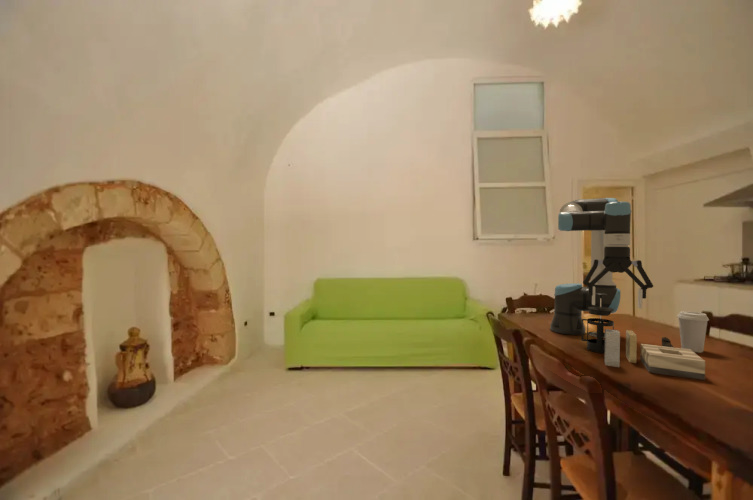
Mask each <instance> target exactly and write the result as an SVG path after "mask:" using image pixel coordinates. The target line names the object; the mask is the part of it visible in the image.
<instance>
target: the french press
mask: <svg viewBox="0 0 753 500" xmlns="http://www.w3.org/2000/svg"><path fill="white" fill-rule="evenodd" d="M595 294H596V295H599V298H600V307H597V306H596V307H588V309H589V312H588V313H589V314H590V315H595V316H599V318H598V317H590V318H582V335H581V341H583V342H586V350H587V351H591V352H594V353H597V354H604V355H605V327H612V330H615V329H614V328H615V326H614V325H615V321H613V320H612V319H606V318H602V316H603V317H604V316H605V317H607V316H610V315H611V314H612V313H611V312H612V311H614V309H611V308H606V307H601V298H602V295H607V294H604V293H595ZM584 321H585V322H586V321H587V322H586V323H587V328H586V331H587V332H586V333H587V334H586V335H587V336H586V339H585V338H584V334H583V323H584ZM589 325H593V326H596V331H589ZM589 336H591V337H594V338H589Z"/></svg>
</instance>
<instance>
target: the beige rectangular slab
mask: <svg viewBox="0 0 753 500" xmlns="http://www.w3.org/2000/svg"><path fill="white" fill-rule="evenodd" d="M637 336H638V335H637V334H636V333H635V332H634V331H633V330H628V329H626V330H625V357H626V359H627V360H628V362H629V363H631V364H637V347H638V346H637V344H638V342H637V341H638V340H637V338H638V337H637Z"/></svg>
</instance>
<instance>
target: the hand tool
mask: <svg viewBox="0 0 753 500" xmlns="http://www.w3.org/2000/svg"><path fill="white" fill-rule="evenodd" d="M661 346H665V347H674V346H673V344H672V343H671V340H670V339H669V338H668V337H661ZM674 348H676V347H674Z"/></svg>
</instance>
